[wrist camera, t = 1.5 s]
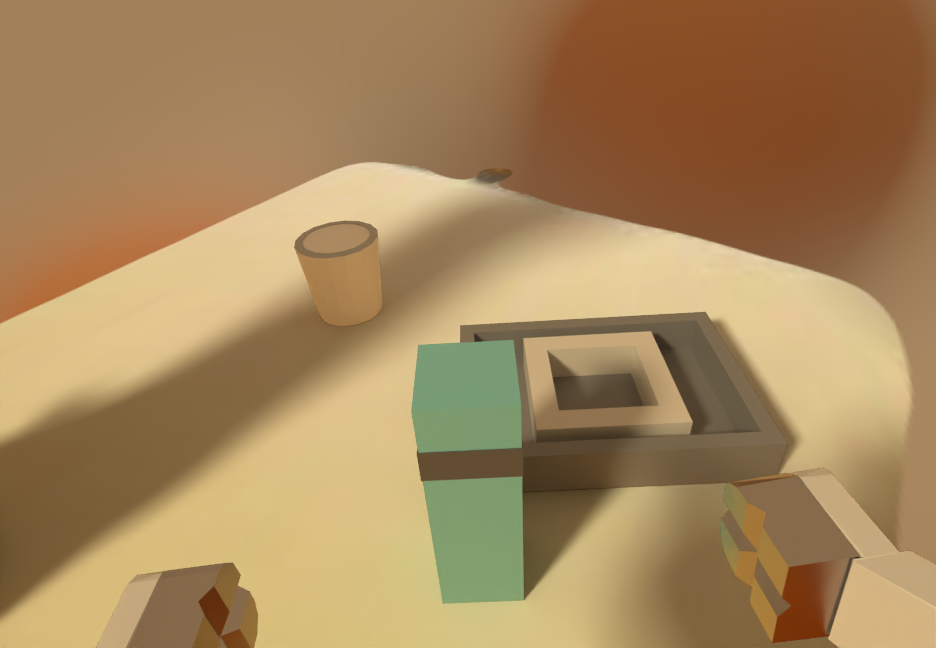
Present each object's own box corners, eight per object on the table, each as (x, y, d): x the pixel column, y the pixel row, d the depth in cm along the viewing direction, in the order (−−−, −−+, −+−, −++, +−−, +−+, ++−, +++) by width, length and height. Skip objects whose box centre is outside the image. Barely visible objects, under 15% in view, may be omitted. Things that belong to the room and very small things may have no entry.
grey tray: (463, 494, 34) (459, 459, 32) (463, 357, 44) (460, 325, 43) (774, 480, 33) (787, 444, 31) (698, 344, 44) (705, 311, 42)
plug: (441, 604, 28) (409, 412, 21) (444, 532, 32) (417, 344, 24) (525, 601, 28) (522, 406, 21) (518, 528, 32) (514, 338, 24)
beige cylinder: (341, 283, 55) (326, 215, 51) (403, 294, 52) (393, 224, 48) (296, 321, 50) (276, 250, 46) (363, 336, 47) (347, 262, 43)
